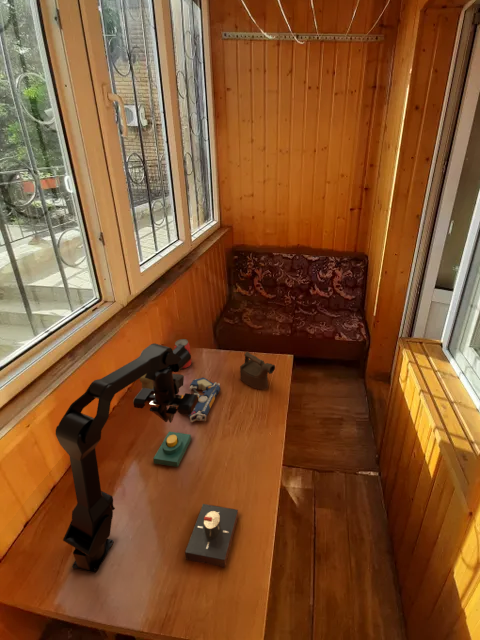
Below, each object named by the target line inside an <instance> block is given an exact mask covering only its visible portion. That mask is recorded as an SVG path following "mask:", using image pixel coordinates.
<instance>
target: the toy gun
mask: <svg viewBox="0 0 480 640" xmlns="http://www.w3.org/2000/svg"><path fill="white" fill-rule="evenodd" d="M189 390H193V392H194V393H193V394H196V395H197V396H198V402H197V404H196V406H195V408H194V410H193V412H192V414H190V415H187V416H188V417H189V422H190V423H193V422H196V421H198V422H201V421H202V422H206V421H207V417H208V414H209V412H210V410H211V408H212V407H213V406H212V405H213V404H214V402H215V399H216V398H217V396H218V395H219V393H220V391H221V384H220V383H219V382H218V383H217V381H214V382H211V381H210V380H208V379H207V378H206V377H205V376H204V377H200V378H195V379H193V380H192V381H191V382H190V384H189ZM197 390H199V391H200V390H202V394H200V392H199V391H197ZM181 395H182V397H181V398H183V396H184V395H185V394H181Z"/></svg>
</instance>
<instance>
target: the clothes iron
mask: <svg viewBox="0 0 480 640" xmlns="http://www.w3.org/2000/svg"><path fill="white" fill-rule="evenodd" d="M275 370H276V366H275V364H272V363H270V362H269V363H268V362H265V361H264V360H263V359H260V358H259V357H257V356H256V355H253V354H252V353H250V352H249V351H245V353H244V363H243V364H241V365H240V367H239V371H240V372H239V376H240V378H239V379H240V380H241V382H242V383H244V384H246V385H248V386H249V387H251V388H253V389H257V390H267V389H268V388H269V382H268V374H269V375H272V374H273V373H274V371H275Z"/></svg>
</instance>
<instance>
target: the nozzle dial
mask: <svg viewBox="0 0 480 640" xmlns="http://www.w3.org/2000/svg"><path fill="white" fill-rule="evenodd" d="M204 529H205V535H206V537H207V538H209V539H213V538H215V537H217V536H218V535H219V533H220V530H221V524H220V515H219V513H218V512H216V511H211V512H209V513H208V514H207V515H206V516H205V517H204Z"/></svg>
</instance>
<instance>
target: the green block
mask: <svg viewBox="0 0 480 640" xmlns="http://www.w3.org/2000/svg"><path fill="white" fill-rule="evenodd" d="M170 435H176V436H177V444H176V445H175V446H174V447H168V446H167V438H168V437H169V436H170ZM191 441H192V434H189V433H183V432H176V431H170V430H169V431H168V433H166V436H165V437H164V438H163V441H162V443H161V445H160V446H159V448H158V449H157V451H156V453H155V454H154V456H153V463H154V464H155V465H161V466H168V467H176V468H178V467H179V465H180V463H181V462H182V459H183V457H184V455H185V453H186V452H187V450H188V447H189V445H190V443H191Z"/></svg>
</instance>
